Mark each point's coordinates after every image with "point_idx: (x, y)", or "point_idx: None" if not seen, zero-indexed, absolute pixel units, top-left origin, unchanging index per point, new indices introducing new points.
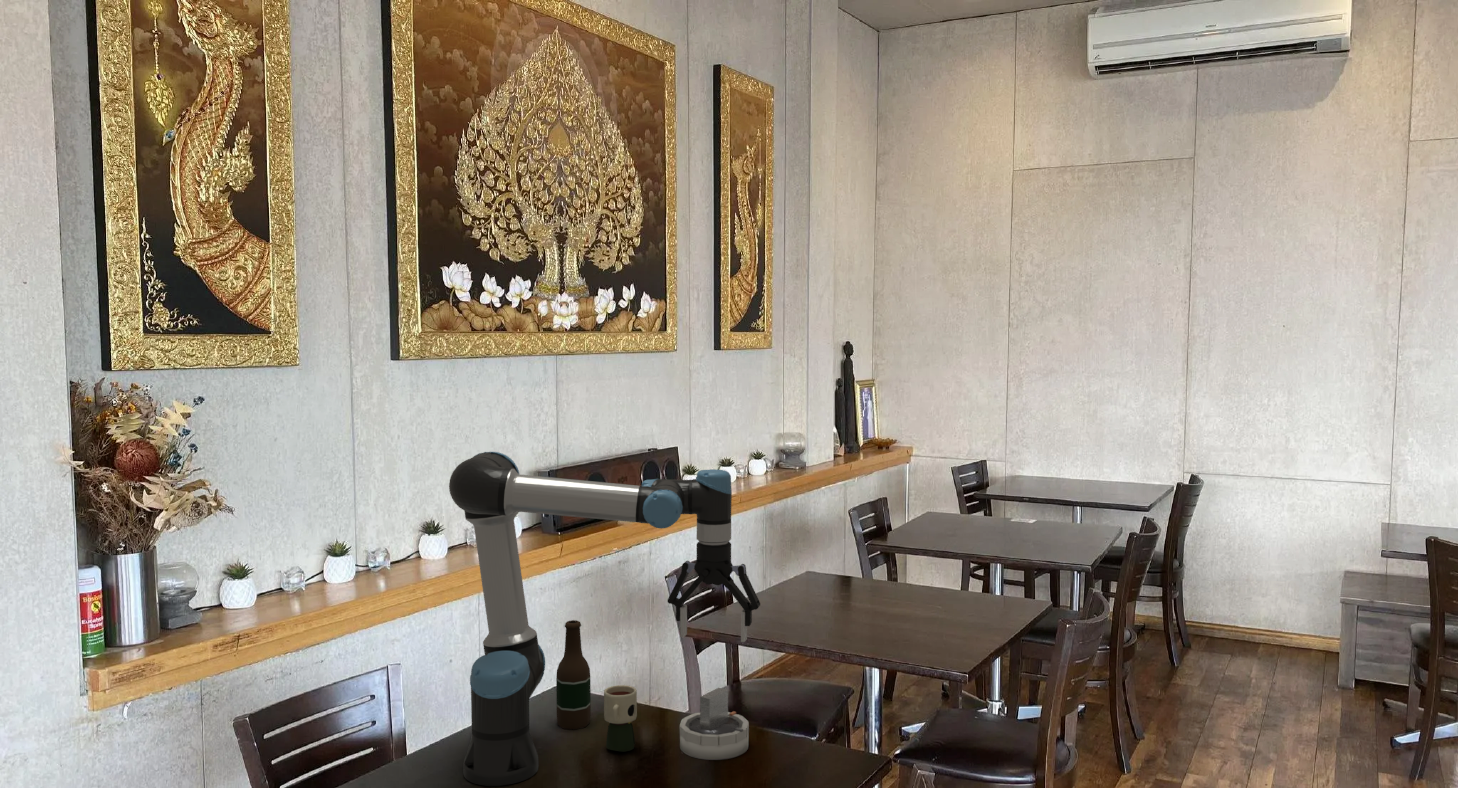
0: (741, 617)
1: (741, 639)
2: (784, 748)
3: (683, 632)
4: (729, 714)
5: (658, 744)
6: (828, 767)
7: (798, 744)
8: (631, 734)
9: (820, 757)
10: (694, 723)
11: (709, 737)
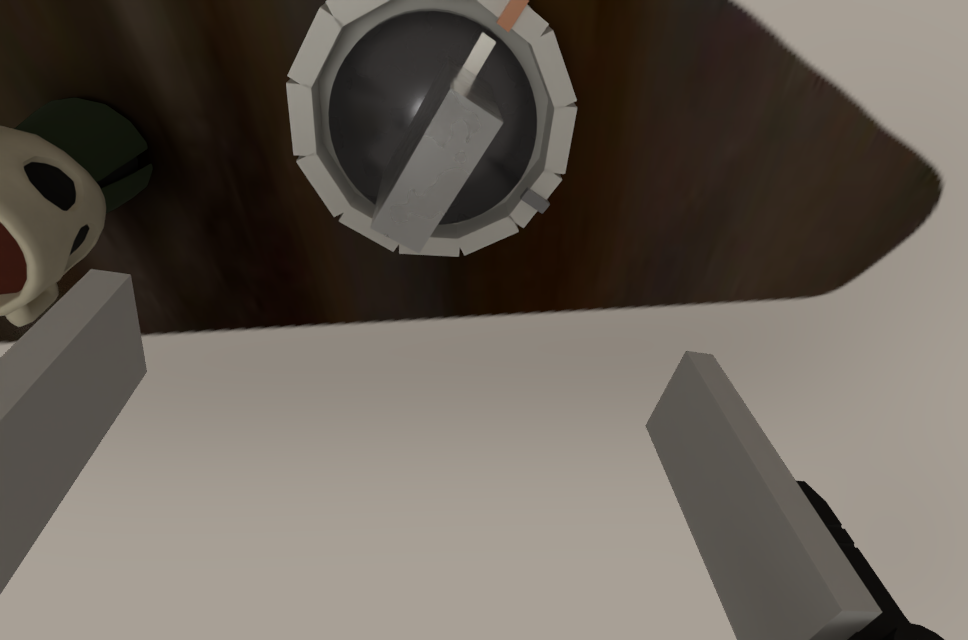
0: (733, 618)
1: (655, 441)
2: (679, 119)
3: (124, 402)
4: (496, 22)
5: (223, 100)
6: (768, 252)
7: (737, 80)
8: (121, 189)
9: (772, 187)
10: (350, 120)
11: (428, 253)
